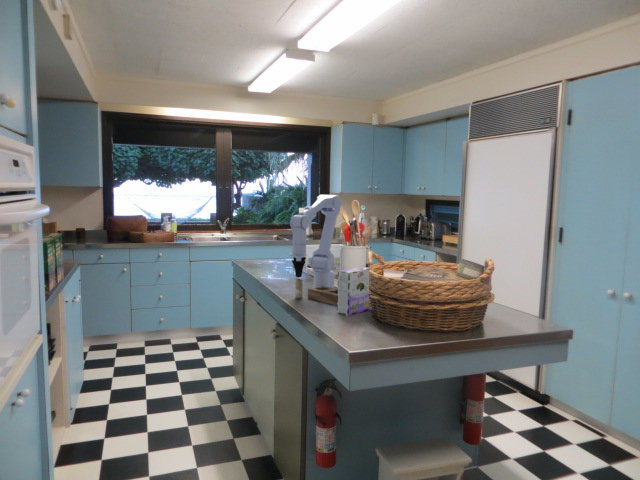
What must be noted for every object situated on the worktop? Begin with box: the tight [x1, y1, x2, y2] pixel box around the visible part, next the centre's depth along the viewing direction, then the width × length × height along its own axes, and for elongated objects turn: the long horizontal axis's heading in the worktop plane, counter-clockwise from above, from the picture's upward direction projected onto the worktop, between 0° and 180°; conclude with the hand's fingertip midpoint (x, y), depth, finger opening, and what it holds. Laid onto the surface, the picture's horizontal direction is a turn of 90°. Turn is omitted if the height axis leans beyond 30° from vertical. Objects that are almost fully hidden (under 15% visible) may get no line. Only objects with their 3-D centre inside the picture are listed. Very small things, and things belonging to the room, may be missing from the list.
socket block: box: [307, 286, 338, 306], centre depth 194 cm, size 9×16×4 cm, turn 46°
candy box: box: [336, 266, 371, 317], centre depth 176 cm, size 14×6×16 cm, turn 134°
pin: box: [294, 278, 304, 299], centre depth 196 cm, size 3×3×8 cm
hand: (299, 275), depth 196 cm, fingers open, 7 cm apart
